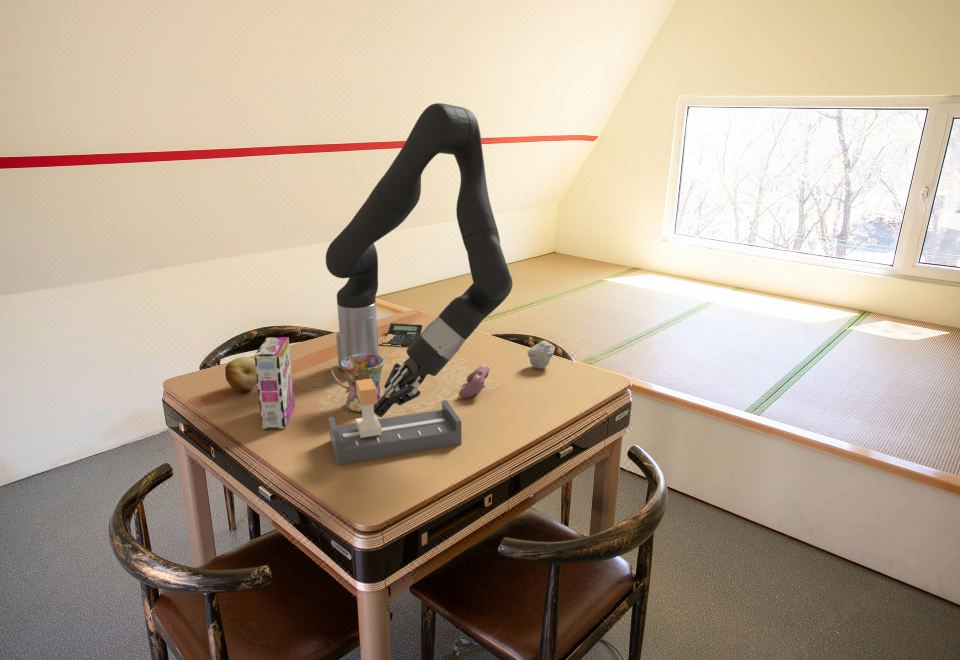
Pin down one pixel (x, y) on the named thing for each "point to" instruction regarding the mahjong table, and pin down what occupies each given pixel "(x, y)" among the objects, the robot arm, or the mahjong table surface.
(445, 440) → the fader console
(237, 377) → the fruit
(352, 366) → the mug
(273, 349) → the candy bar box
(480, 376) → the pink toy animal figure
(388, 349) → the mahjong table surface
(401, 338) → the calculator
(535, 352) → the grey lumpy stone
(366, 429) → the fader knob
